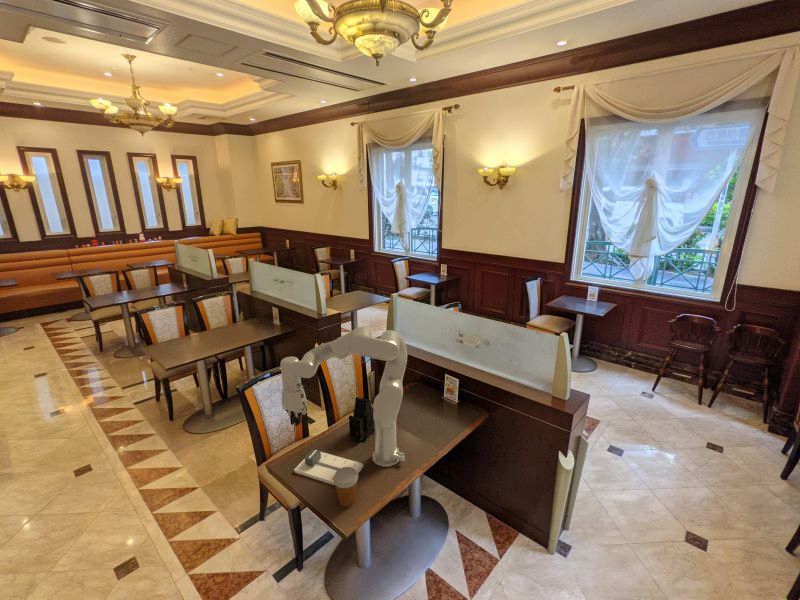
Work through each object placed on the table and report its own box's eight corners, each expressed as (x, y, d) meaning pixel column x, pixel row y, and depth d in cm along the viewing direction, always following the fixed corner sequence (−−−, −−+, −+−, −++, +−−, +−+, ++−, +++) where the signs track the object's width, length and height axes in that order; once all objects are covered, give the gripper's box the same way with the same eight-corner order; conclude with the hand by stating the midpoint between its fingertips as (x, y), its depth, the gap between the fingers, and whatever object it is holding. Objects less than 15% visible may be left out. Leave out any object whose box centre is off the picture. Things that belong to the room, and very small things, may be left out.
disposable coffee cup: (347, 487, 150) (346, 462, 147) (364, 499, 144) (363, 473, 141) (329, 502, 143) (327, 476, 140) (346, 514, 137) (344, 488, 134)
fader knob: (321, 457, 165) (320, 450, 164) (313, 466, 159) (312, 459, 158) (313, 455, 166) (312, 448, 165) (305, 464, 161) (304, 457, 160)
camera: (345, 440, 179) (342, 404, 174) (360, 425, 191) (359, 391, 185) (362, 446, 175) (360, 409, 169) (377, 431, 186) (376, 395, 181)
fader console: (363, 466, 162) (363, 463, 161) (347, 489, 149) (346, 485, 149) (313, 452, 171) (313, 449, 171) (294, 472, 159) (294, 469, 158)
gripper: (312, 384, 156) (316, 422, 161) (282, 378, 162) (286, 415, 167) (302, 393, 150) (305, 432, 155) (271, 386, 156) (275, 424, 160)
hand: (295, 423), depth 161 cm, fingers closed
